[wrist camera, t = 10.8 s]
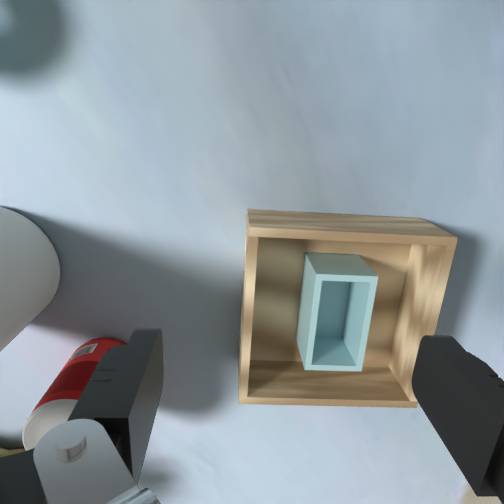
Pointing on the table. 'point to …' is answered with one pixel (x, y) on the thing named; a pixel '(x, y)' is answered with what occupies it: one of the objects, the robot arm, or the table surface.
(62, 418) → the canned food
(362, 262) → the small crate
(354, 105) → the table surface
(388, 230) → the large crate
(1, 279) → the cylinder vase
